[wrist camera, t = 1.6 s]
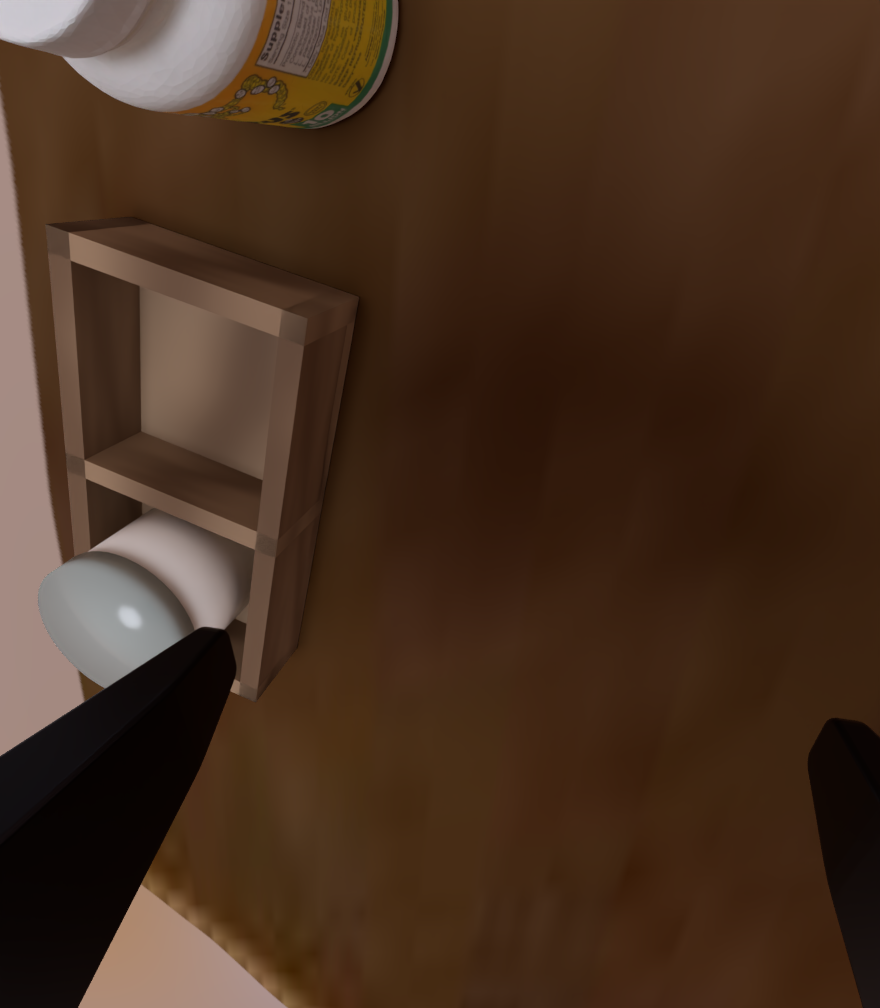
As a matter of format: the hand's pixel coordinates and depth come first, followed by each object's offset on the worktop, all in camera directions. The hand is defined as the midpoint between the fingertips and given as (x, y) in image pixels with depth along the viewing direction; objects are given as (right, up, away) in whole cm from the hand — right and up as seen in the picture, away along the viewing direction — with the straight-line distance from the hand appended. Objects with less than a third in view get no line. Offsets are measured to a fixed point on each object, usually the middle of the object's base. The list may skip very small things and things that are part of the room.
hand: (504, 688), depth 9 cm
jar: (-11, +1, +17) cm, 20 cm away
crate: (-10, +4, +15) cm, 19 cm away
